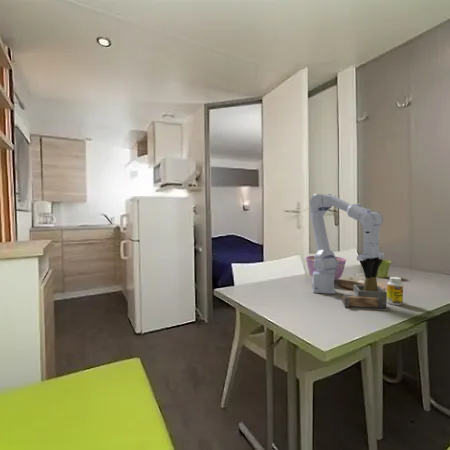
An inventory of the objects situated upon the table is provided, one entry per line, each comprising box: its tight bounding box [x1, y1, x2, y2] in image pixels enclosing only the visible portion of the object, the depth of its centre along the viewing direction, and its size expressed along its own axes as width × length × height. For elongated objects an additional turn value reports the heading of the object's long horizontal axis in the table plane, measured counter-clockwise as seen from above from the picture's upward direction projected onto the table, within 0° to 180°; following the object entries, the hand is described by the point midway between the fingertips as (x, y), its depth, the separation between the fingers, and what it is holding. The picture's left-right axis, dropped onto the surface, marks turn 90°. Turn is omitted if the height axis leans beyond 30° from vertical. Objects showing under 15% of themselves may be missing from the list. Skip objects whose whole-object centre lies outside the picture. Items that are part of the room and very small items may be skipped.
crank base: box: [371, 306, 391, 312], centre depth 117 cm, size 6×6×1 cm
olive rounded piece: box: [363, 271, 378, 291], centre depth 134 cm, size 6×6×11 cm
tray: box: [352, 284, 387, 299], centre depth 135 cm, size 11×11×3 cm
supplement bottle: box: [386, 276, 404, 306], centre depth 123 cm, size 6×6×10 cm
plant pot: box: [376, 259, 392, 279], centre depth 171 cm, size 9×9×9 cm
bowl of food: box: [305, 255, 347, 281], centre depth 161 cm, size 20×20×12 cm
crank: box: [342, 294, 388, 309], centre depth 118 cm, size 15×5×3 cm, turn 78°
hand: (370, 277), depth 122 cm, fingers open, 2 cm apart
